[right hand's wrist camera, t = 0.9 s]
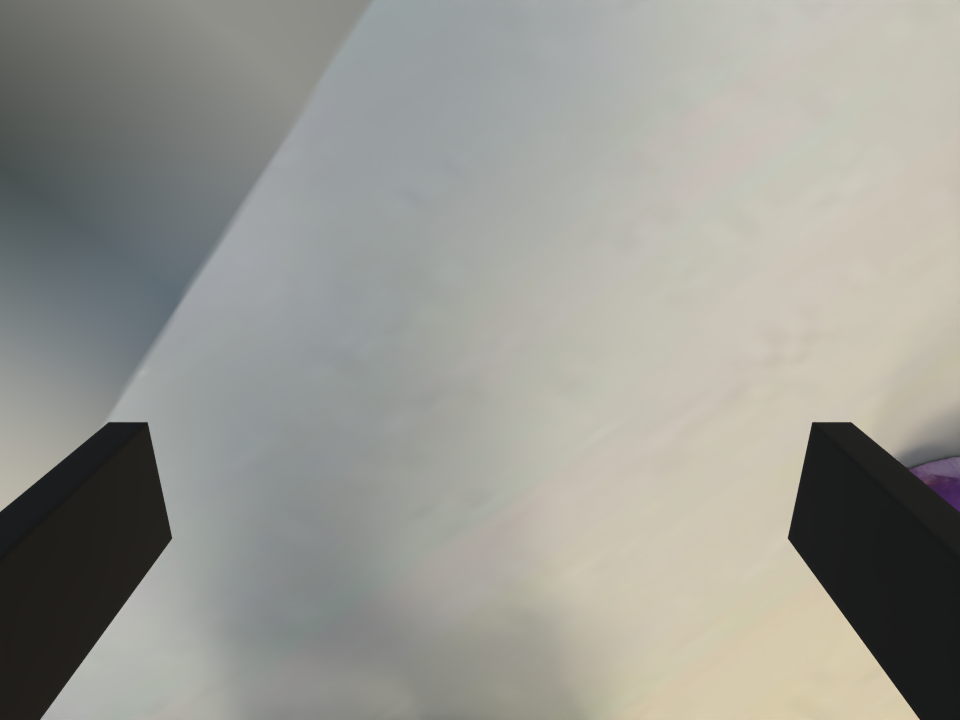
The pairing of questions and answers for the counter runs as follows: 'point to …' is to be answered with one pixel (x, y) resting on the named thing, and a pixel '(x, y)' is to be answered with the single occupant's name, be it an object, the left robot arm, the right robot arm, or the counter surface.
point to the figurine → (942, 478)
